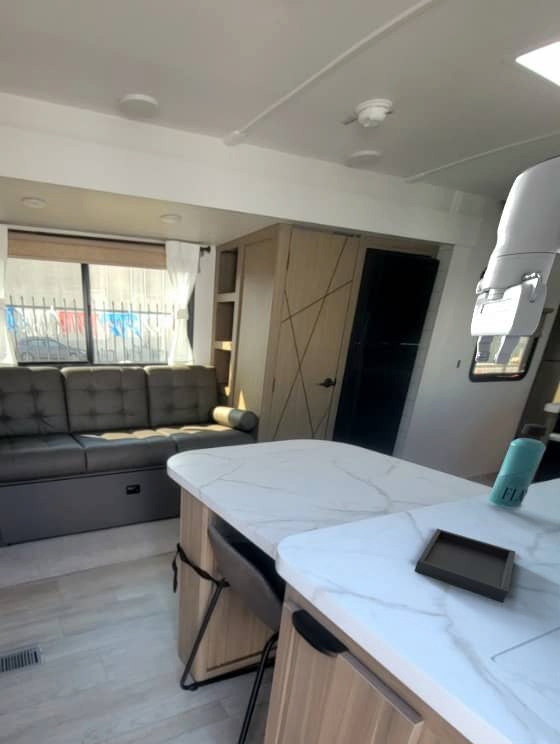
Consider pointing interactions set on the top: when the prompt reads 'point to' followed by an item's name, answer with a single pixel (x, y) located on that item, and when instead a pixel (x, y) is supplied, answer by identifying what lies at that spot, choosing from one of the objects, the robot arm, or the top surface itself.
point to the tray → (468, 564)
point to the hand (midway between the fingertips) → (490, 363)
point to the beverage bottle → (518, 468)
